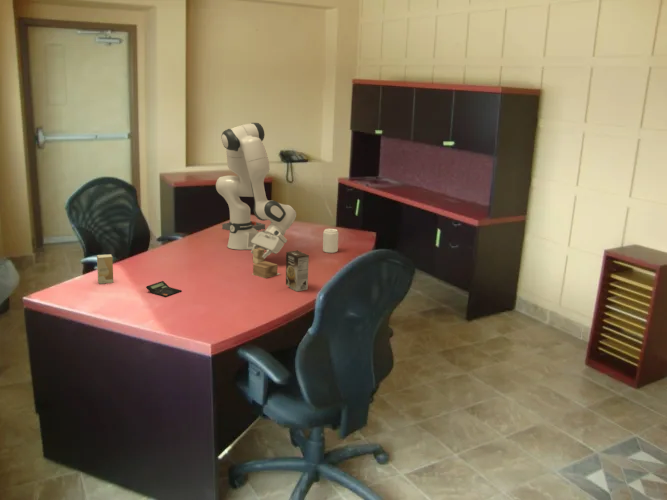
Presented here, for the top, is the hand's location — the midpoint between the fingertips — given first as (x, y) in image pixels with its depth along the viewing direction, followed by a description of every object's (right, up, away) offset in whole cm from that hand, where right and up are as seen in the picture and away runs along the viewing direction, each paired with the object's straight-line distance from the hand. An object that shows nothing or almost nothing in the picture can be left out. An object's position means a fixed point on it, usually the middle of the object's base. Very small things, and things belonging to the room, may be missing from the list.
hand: (257, 255), depth 314 cm
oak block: (0, -5, +2) cm, 5 cm away
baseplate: (+6, -9, -15) cm, 19 cm away
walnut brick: (+6, -9, -17) cm, 20 cm away
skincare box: (-64, -12, -31) cm, 72 cm away
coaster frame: (-17, +16, +75) cm, 78 cm away
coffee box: (+21, -14, -31) cm, 40 cm away
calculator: (-35, -16, -41) cm, 57 cm away
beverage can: (+36, +2, +30) cm, 47 cm away
